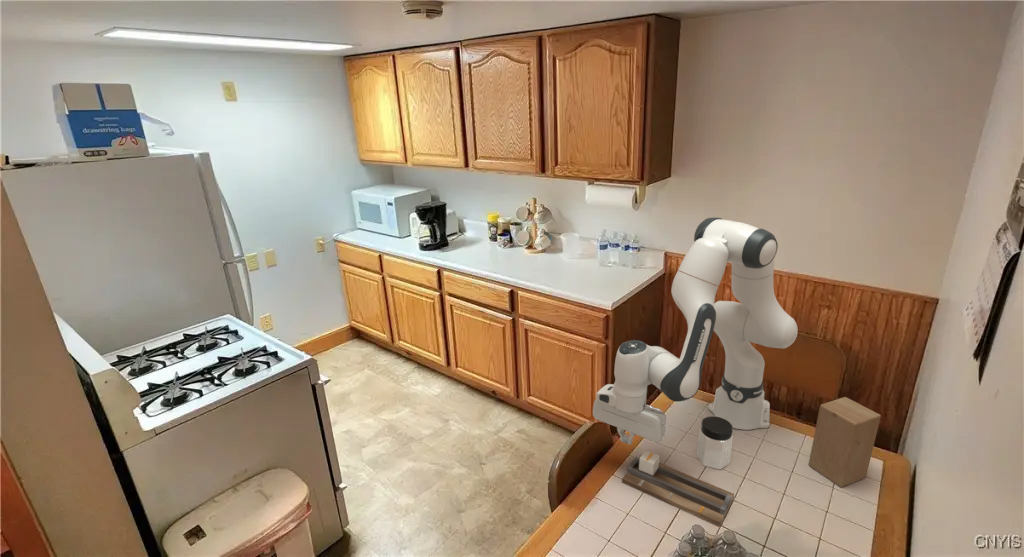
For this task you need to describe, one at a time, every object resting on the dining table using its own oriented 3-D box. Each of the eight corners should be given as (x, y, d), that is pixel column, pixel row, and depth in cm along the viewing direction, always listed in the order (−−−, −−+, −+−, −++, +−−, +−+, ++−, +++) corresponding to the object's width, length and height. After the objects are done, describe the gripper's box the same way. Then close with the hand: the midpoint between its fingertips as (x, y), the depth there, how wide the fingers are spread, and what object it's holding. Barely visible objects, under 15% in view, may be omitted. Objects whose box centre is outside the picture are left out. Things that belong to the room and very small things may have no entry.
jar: (715, 473, 139) (720, 437, 135) (691, 458, 145) (694, 422, 142) (734, 461, 144) (739, 425, 140) (710, 446, 150) (714, 412, 146)
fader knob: (644, 466, 140) (645, 449, 139) (658, 471, 138) (659, 455, 136) (638, 474, 137) (639, 457, 136) (652, 480, 135) (653, 463, 133)
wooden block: (841, 488, 132) (855, 424, 126) (807, 465, 141) (819, 404, 135) (866, 477, 136) (882, 414, 130) (832, 455, 145) (845, 395, 138)
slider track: (640, 458, 146) (640, 451, 145) (733, 497, 130) (734, 489, 129) (621, 482, 137) (622, 474, 136) (719, 526, 121) (721, 517, 120)
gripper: (671, 406, 132) (666, 450, 136) (601, 382, 143) (599, 424, 148) (661, 417, 127) (657, 462, 131) (590, 392, 139) (589, 434, 143)
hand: (626, 442), depth 139 cm, fingers closed
